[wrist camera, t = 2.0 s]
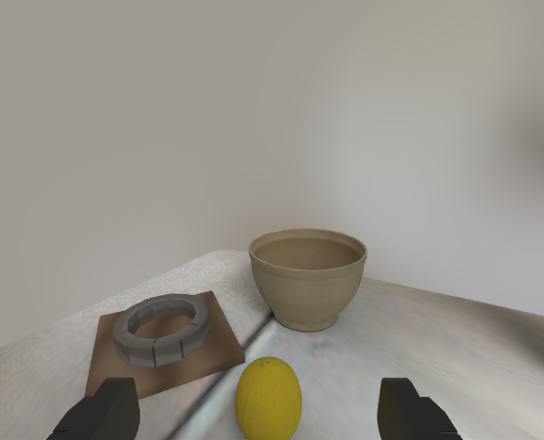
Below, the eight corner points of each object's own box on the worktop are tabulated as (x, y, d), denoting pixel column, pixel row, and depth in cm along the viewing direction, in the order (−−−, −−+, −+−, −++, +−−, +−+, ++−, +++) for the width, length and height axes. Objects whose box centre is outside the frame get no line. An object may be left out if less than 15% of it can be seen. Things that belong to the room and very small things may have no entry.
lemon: (224, 437, 25) (218, 362, 23) (269, 397, 29) (268, 329, 26) (268, 490, 21) (267, 406, 19) (314, 436, 25) (317, 361, 23)
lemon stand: (212, 296, 47) (210, 277, 46) (245, 362, 33) (243, 337, 32) (101, 322, 40) (97, 300, 40) (83, 418, 27) (76, 388, 26)
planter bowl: (357, 290, 48) (362, 230, 45) (365, 360, 33) (374, 276, 30) (265, 281, 52) (264, 224, 49) (235, 340, 37) (231, 263, 34)
